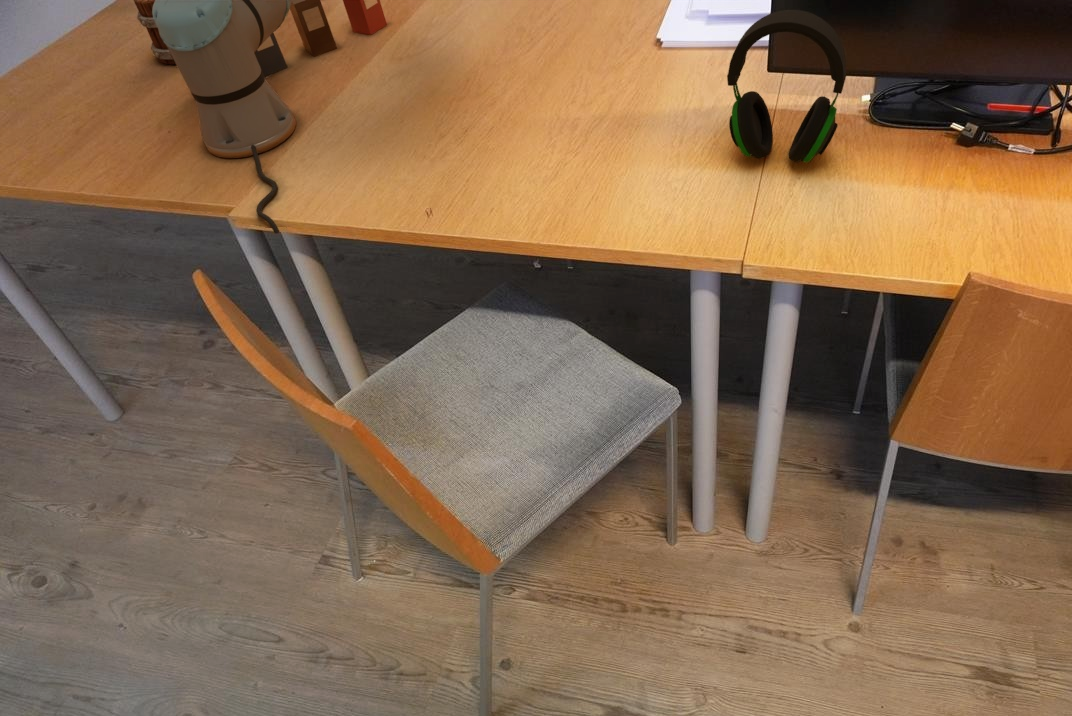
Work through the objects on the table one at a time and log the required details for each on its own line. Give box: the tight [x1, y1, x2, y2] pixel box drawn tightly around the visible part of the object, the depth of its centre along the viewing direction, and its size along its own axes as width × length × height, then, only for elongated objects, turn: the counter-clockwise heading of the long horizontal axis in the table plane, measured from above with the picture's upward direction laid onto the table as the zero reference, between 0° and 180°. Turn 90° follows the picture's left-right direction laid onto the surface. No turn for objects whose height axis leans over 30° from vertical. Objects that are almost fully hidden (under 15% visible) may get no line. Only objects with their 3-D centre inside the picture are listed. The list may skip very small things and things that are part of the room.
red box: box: [342, 0, 388, 36], centre depth 154 cm, size 5×5×10 cm
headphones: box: [726, 9, 848, 163], centre depth 106 cm, size 9×16×20 cm, turn 71°
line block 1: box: [254, 32, 288, 78], centre depth 146 cm, size 5×5×10 cm
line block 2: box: [289, 0, 338, 57], centre depth 150 cm, size 5×5×10 cm
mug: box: [133, 0, 176, 65], centre depth 155 cm, size 12×14×15 cm
